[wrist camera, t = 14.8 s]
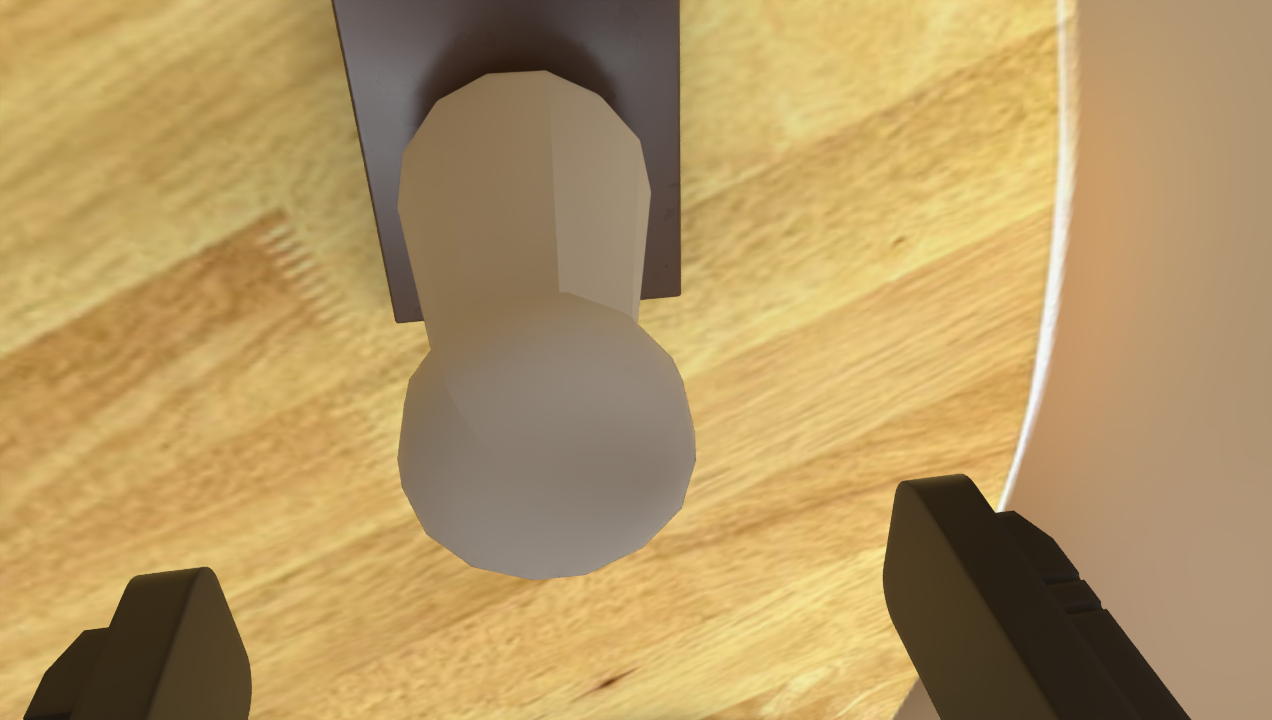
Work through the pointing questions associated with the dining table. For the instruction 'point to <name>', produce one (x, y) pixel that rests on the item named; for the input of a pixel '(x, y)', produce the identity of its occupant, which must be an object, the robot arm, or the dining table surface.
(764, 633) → the dining table surface
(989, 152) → the dining table surface
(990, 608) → the robot arm
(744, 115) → the dining table surface
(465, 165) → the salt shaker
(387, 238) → the serving board
